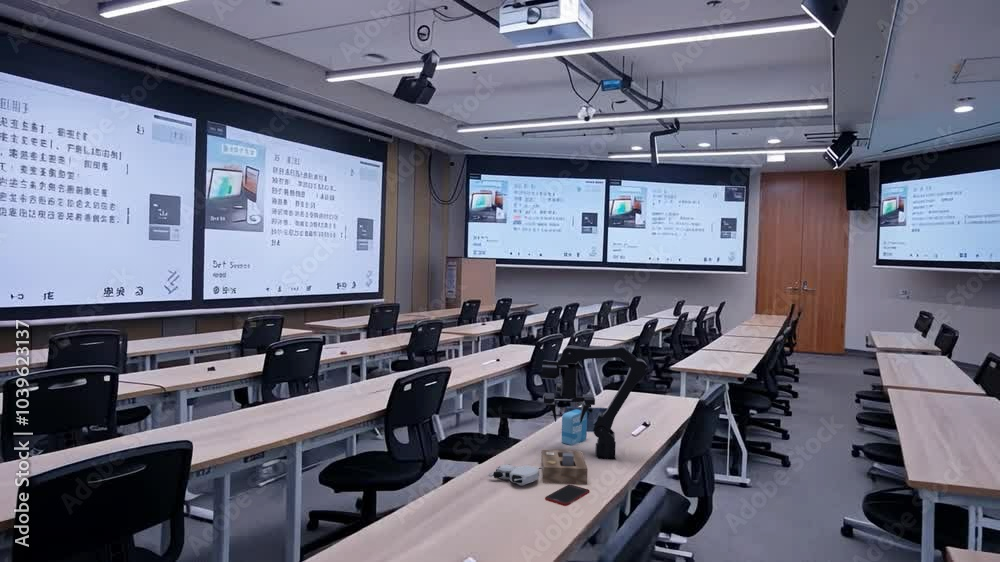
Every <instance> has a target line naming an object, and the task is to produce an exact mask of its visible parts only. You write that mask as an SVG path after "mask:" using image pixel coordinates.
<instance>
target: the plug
mask: <svg viewBox="0 0 1000 562" xmlns="http://www.w3.org/2000/svg"><path fill="white" fill-rule="evenodd" d="M573 464H574V455H573V453H563V457H562V466H573Z"/></svg>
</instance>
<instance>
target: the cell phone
mask: <svg viewBox="0 0 1000 562" xmlns="http://www.w3.org/2000/svg"><path fill="white" fill-rule="evenodd" d="M588 494H590V489H588V488H584V487H581V486H578V485H575V484H566V485H564V486H563V487H561V488H559V489H557V490H556V491H554V492H551V493H550V494H548V495H546V496H545V497H544V500H545V501H547V502H550V503H554V504H557V505H559V506H565V507H567V506H569V505H572V504H573V503H574V502H576V501H578V500H579V499H581V498H583V497H584V496H586V495H588Z"/></svg>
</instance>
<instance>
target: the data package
mask: <svg viewBox="0 0 1000 562" xmlns="http://www.w3.org/2000/svg"><path fill="white" fill-rule="evenodd" d="M580 414H581V410H578V409H576V410H573V411H570V412H567V413H566V412H564V413H563V414H562V416H561V418H562V419H561V443H562V444H565V445H569V446H573V445H575V444H580V443H582V442H584V441H586V439H587V412H586V413H585V415H584V417H583V420H582V422H581V423H580Z"/></svg>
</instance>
